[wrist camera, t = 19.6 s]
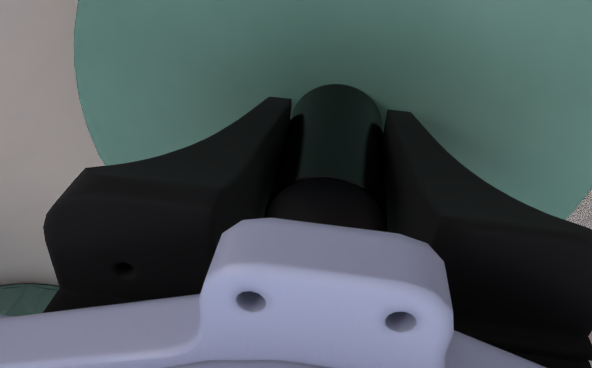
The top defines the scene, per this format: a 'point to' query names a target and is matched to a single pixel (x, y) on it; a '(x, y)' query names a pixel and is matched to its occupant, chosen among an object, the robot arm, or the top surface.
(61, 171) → the top surface
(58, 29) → the top surface
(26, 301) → the tin
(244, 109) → the tin lid
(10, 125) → the top surface
